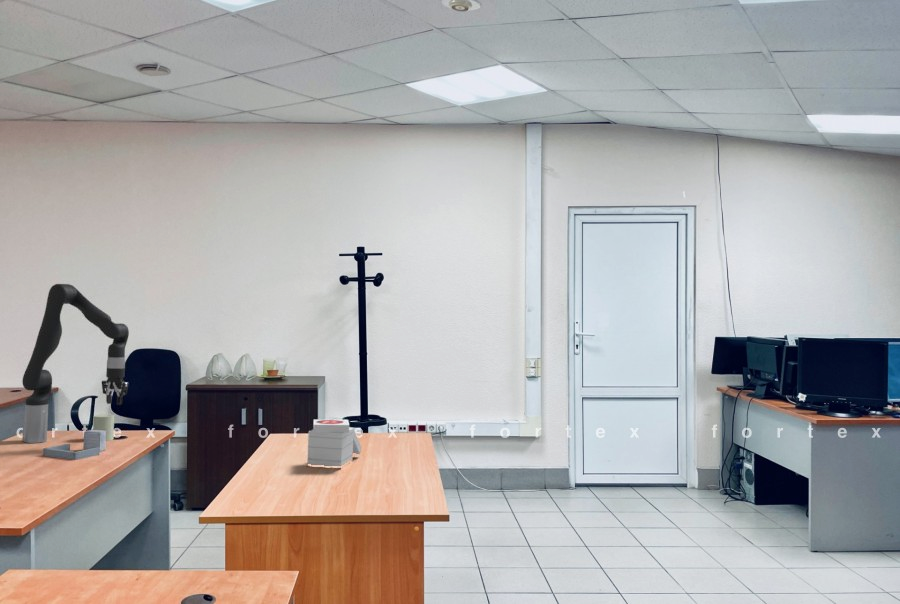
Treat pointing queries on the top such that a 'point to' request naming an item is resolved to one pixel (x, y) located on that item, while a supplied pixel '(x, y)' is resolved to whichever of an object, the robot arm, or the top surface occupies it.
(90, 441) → the medicine box
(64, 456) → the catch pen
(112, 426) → the can
